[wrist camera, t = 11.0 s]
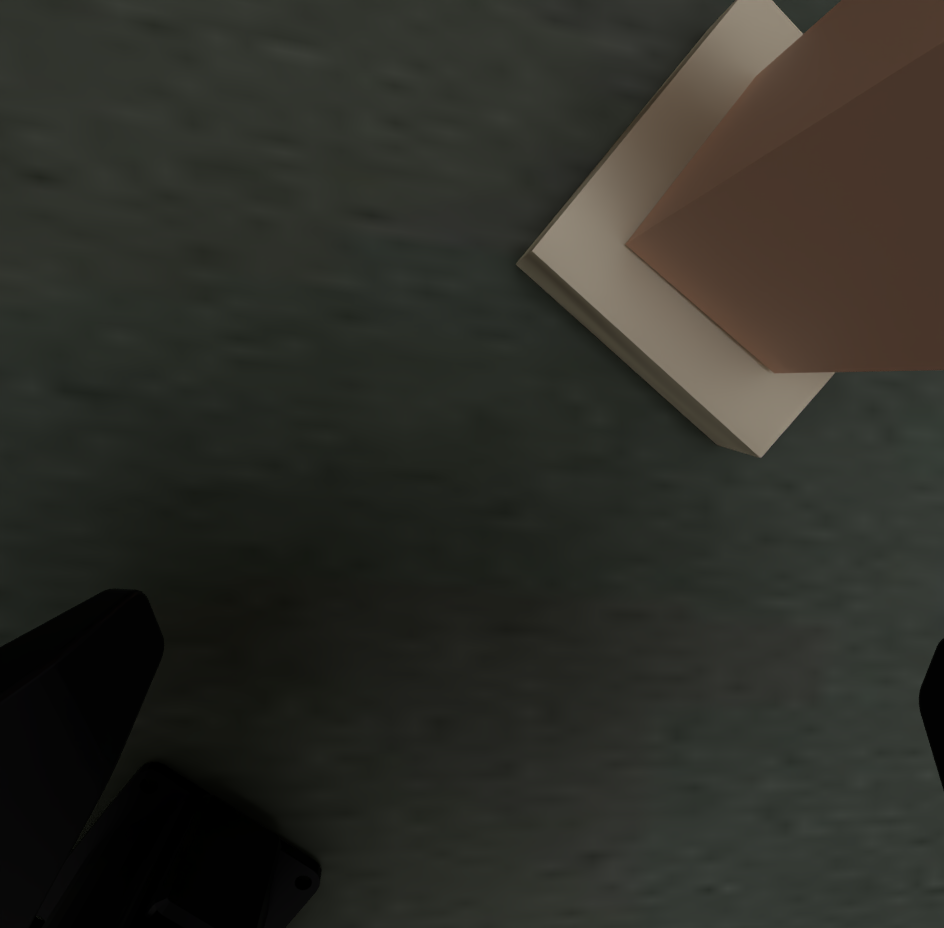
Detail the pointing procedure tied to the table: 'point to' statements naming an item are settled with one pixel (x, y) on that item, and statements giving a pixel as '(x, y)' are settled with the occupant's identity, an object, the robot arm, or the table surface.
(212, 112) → the table surface
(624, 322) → the slab
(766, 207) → the column
